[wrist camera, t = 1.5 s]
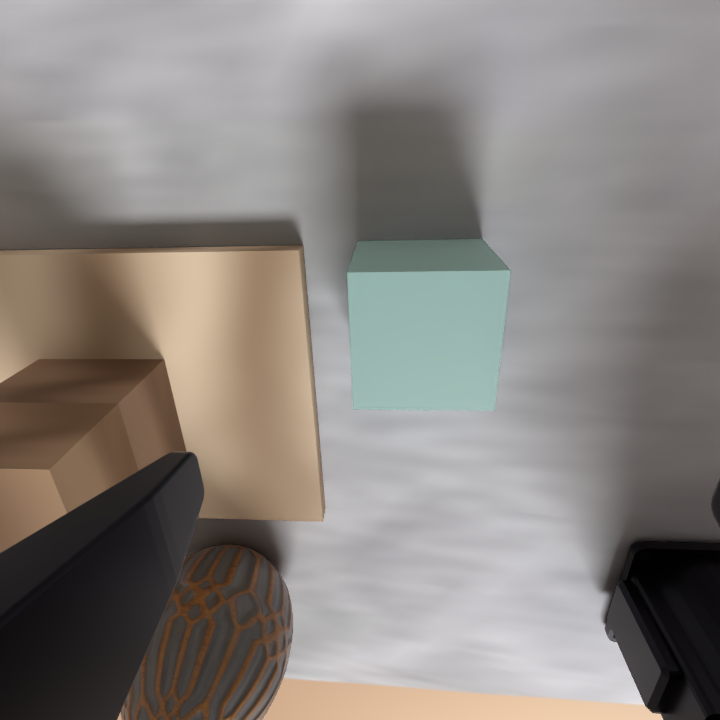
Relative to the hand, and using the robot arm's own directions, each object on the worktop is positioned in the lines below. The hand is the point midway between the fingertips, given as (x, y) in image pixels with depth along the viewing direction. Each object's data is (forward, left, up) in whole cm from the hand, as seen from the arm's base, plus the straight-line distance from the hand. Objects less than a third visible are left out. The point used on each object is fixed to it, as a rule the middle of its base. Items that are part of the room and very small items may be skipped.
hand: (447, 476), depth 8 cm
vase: (+9, +14, -10) cm, 20 cm away
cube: (0, 0, -10) cm, 10 cm away
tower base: (+12, +4, -9) cm, 15 cm away
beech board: (+12, +4, -9) cm, 16 cm away
